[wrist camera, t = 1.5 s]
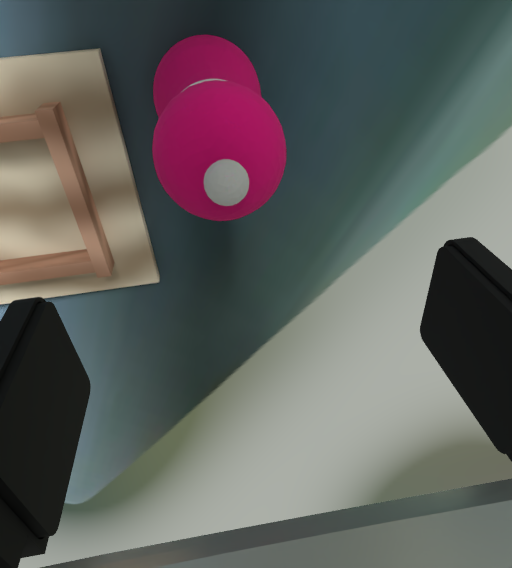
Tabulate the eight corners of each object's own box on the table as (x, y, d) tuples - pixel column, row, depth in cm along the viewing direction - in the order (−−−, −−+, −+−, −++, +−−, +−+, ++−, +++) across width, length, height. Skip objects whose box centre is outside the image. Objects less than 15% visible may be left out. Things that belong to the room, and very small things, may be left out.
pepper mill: (202, 150, 34) (219, 299, 18) (135, 77, 30) (82, 184, 14) (270, 90, 32) (357, 199, 16) (208, 3, 28) (241, 32, 12)
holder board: (-204, 77, 27) (-244, 87, 25) (100, 48, 29) (91, 54, 26) (-48, 305, 39) (-64, 327, 37) (159, 276, 41) (158, 295, 38)
